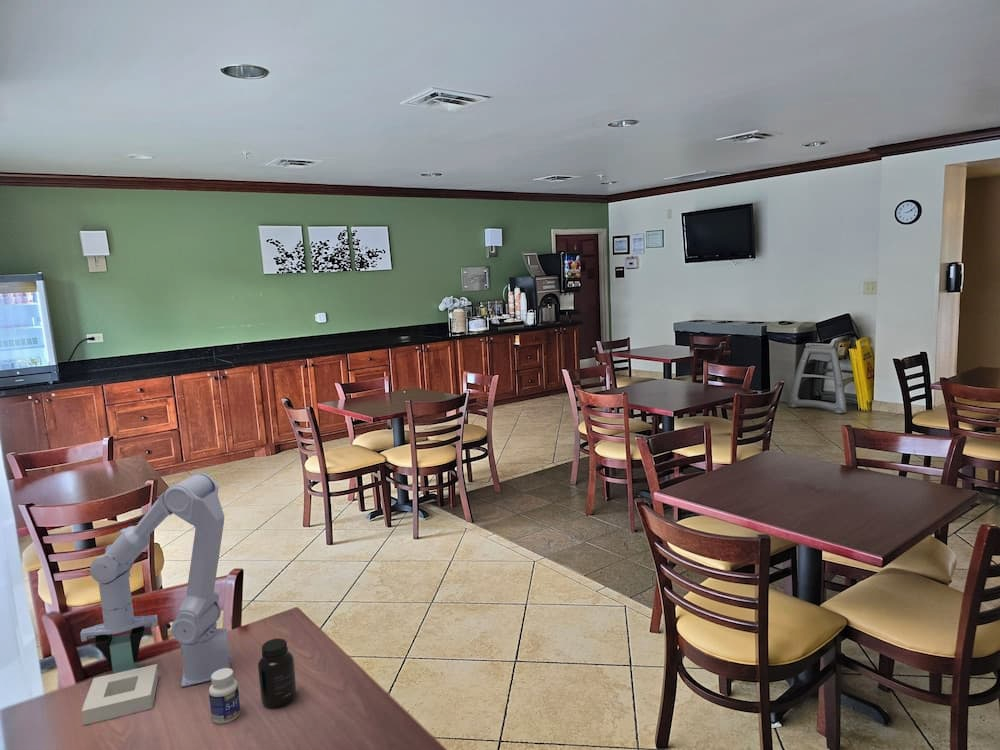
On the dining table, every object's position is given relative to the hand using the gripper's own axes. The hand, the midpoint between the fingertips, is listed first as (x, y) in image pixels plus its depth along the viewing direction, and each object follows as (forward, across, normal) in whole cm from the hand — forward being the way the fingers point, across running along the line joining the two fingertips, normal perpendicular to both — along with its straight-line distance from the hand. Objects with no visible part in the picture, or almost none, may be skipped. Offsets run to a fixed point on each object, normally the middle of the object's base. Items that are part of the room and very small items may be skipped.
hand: (124, 662), depth 145 cm
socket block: (+2, -1, +11) cm, 11 cm away
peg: (+2, 0, 0) cm, 2 cm away
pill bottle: (+3, -21, +26) cm, 34 cm away
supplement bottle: (+3, -31, +25) cm, 40 cm away
